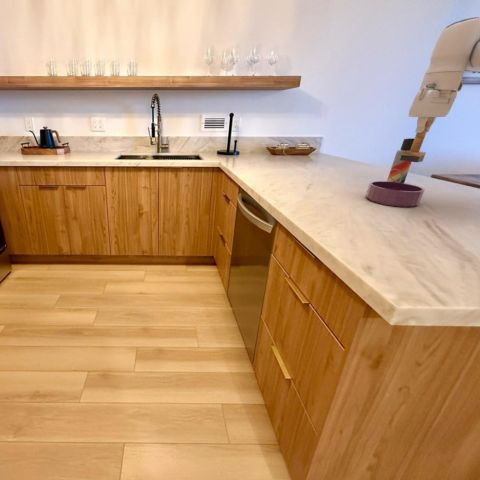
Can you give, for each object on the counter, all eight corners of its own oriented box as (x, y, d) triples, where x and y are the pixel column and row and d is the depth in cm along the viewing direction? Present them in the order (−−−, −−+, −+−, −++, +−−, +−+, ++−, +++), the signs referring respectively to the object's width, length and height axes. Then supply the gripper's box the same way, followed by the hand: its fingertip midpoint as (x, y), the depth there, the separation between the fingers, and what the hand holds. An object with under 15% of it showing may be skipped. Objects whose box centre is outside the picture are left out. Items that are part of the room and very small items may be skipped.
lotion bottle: (388, 190, 117) (405, 138, 109) (382, 186, 122) (398, 137, 114) (404, 190, 116) (423, 138, 108) (397, 187, 121) (415, 137, 113)
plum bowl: (426, 203, 101) (432, 188, 99) (406, 210, 94) (412, 194, 91) (377, 193, 113) (382, 179, 111) (357, 199, 106) (361, 184, 103)
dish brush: (422, 161, 96) (438, 119, 91) (417, 162, 94) (433, 119, 89) (405, 159, 100) (419, 119, 95) (399, 160, 98) (414, 119, 93)
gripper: (439, 82, 80) (419, 134, 86) (465, 85, 90) (446, 132, 96) (412, 83, 85) (395, 132, 91) (439, 86, 95) (423, 130, 101)
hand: (421, 132), depth 93 cm, fingers closed on dish brush, 2 cm apart
